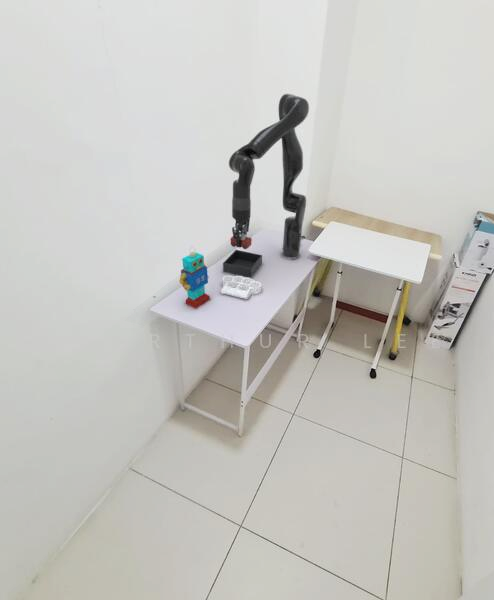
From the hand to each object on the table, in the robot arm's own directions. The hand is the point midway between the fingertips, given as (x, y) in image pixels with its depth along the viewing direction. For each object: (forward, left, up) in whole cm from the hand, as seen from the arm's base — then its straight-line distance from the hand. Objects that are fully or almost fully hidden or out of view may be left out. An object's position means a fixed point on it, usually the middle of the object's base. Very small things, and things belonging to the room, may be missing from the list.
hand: (241, 244), depth 146 cm
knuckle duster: (+9, +3, -18) cm, 20 cm away
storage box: (-9, -3, -18) cm, 20 cm away
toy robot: (+24, -10, -18) cm, 31 cm away
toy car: (0, 0, -1) cm, 1 cm away
